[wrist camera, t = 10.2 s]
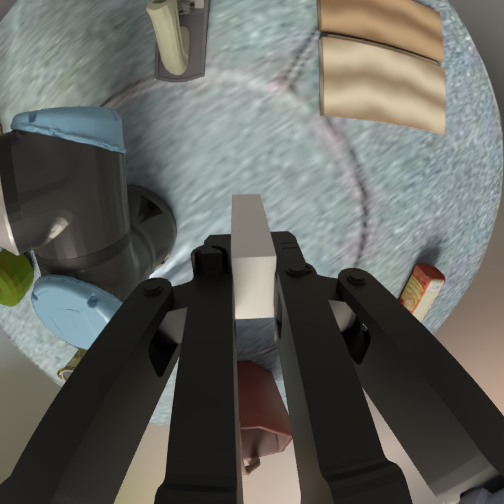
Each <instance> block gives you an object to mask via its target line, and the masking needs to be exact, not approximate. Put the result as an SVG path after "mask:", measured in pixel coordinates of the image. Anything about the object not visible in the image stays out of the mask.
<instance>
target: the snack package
mask: <svg viewBox="0 0 504 504" xmlns="http://www.w3.org/2000/svg"><path fill="white" fill-rule="evenodd" d="M444 283H445V277H444V275H443V274H442V273H441V272H440V271H439V270H438V269H437V268H435V267H434V266H431V265H427V264H416V266H415V268H414V271H413V273H412V275H411V277H410V279H409V281H408V283H407V285H406V287H405V289H404V291H403V293H402V295H401V297H400V299H399V301H400V302H401V303H402V304H403V305H404V306H405V307H406V308H407V309H408V310H409V311H410V312H411V313H412V314H413V315H414V316H415V317H416V318H417V319H418V320H419V321H420V322H422V320H423V318H424V317H425V315H426V313H427V311H428V310H429V308H430V306H431V305H432V303H433V301H434V300H435V298H436V296H437V295H438V293H439V291H440V289H441V288H442V286H443V284H444Z"/></svg>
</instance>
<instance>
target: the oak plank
mask: <svg viewBox="0 0 504 504" xmlns="http://www.w3.org/2000/svg"><path fill="white" fill-rule="evenodd" d="M317 15H318V31H321V32H328V33H334V34H340V35H346V36H351V37H356V38H361V39H365V40H370V41H374V42H378V43H382V44H386V45H389V46H393V47H396V48H400V49H403V50H406V51H409V52H412V53H415V54H418V55H421V56H424V57H427V58H430V59H432V60H435V61H444V52H443V38H442V27H441V19H440V13H439V12H437V11H435V10H433V9H431V8H429V7H426V6H424V5H422V4H419V3H417V2H415V1H412V0H317Z"/></svg>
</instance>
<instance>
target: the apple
mask: <svg viewBox="0 0 504 504" xmlns="http://www.w3.org/2000/svg"><path fill="white" fill-rule="evenodd" d="M33 278H34V275H33V269H32V266H31V264H30V262H29V260H28V259H27V258H26V256H25V255H24V254H20V255H18V256H17V255H15V254H13V253H11V252H10V251H8V250H6V249H4V250H3V251H1V252H0V304H3V305H6V306H9V307H11V306H15V305H16V304H18V303H19V302H20V301H21V300H22V298H23V297H24V295H25V294H26V292H27V291H28V289H29V287H30V286H31V284H32V283H33Z"/></svg>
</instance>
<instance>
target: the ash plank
mask: <svg viewBox="0 0 504 504" xmlns="http://www.w3.org/2000/svg"><path fill="white" fill-rule="evenodd" d="M319 62H320V115H321V116H333V117H344V118H353V119H361V120H369V121H376V122H382V123H389V124H395V125H400V126H406V127H411V128H416V129H421V130H425V131H430V132H434V133H438V134H444V135H445V71H444V68H442V67H439V66H438V63H437V62H434V61H431V60H429V59H426V58H423V57H420V56H417V55H414V54H411V53H408V52H405V51H402V50H399V49H395V48H392V47H388V46H384V45H380V44H376V43H372V42H368V41H364V40H359V39H354V38H349V37H343V36H338V35H331V34H327V35H326V37H322V38H320V39H319Z"/></svg>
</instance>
